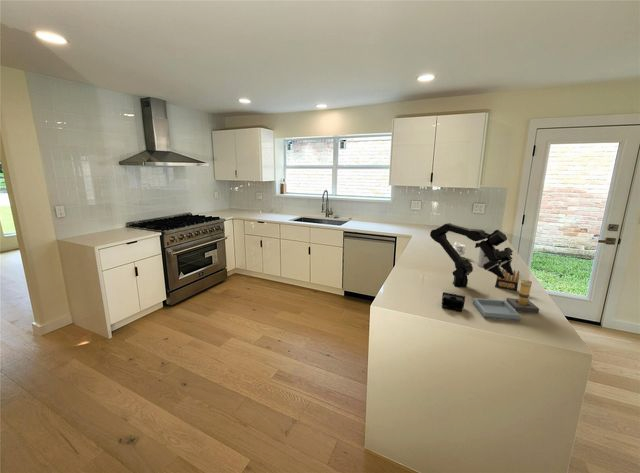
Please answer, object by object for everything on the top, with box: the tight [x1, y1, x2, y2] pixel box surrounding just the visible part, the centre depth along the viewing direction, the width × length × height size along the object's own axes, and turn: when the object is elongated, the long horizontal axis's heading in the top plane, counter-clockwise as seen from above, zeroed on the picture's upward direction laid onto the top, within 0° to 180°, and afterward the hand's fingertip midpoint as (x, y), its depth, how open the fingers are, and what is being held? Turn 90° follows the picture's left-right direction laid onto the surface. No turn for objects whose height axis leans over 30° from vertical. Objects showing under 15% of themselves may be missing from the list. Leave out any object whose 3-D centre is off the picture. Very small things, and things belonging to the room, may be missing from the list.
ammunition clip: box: [494, 267, 520, 292], centre depth 162 cm, size 11×2×12 cm, turn 57°
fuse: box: [517, 279, 533, 306], centre depth 140 cm, size 4×4×14 cm
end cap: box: [441, 291, 466, 313], centre depth 140 cm, size 10×7×7 cm
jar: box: [477, 239, 496, 269], centre depth 199 cm, size 10×10×18 cm
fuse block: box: [506, 297, 540, 314], centre depth 141 cm, size 10×10×2 cm
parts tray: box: [472, 297, 522, 322], centre depth 137 cm, size 15×15×3 cm
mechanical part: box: [452, 241, 467, 256], centre depth 220 cm, size 11×12×12 cm
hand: (508, 276), depth 145 cm, fingers open, 9 cm apart
